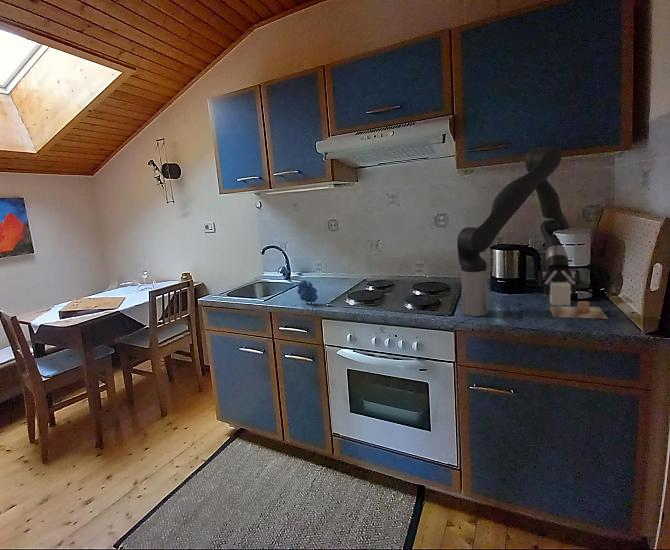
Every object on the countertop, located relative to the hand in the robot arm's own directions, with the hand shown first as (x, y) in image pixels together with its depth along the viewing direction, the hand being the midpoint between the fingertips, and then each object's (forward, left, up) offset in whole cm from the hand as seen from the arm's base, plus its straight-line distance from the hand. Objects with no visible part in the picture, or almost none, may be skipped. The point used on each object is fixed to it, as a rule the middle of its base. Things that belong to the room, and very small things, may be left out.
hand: (560, 294), depth 147 cm
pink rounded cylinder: (+6, -10, -4) cm, 12 cm away
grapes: (-107, -6, -5) cm, 107 cm away
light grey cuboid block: (0, +1, -5) cm, 5 cm away
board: (+4, -10, -5) cm, 12 cm away
